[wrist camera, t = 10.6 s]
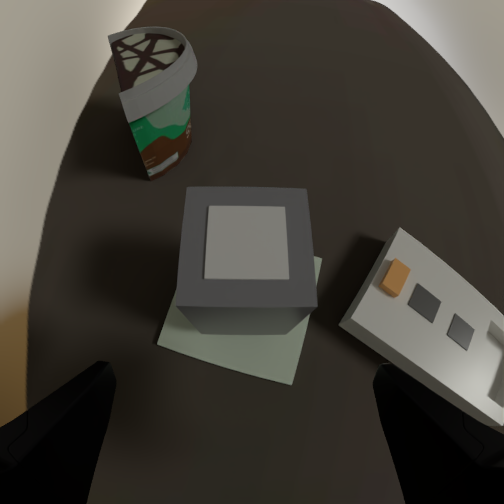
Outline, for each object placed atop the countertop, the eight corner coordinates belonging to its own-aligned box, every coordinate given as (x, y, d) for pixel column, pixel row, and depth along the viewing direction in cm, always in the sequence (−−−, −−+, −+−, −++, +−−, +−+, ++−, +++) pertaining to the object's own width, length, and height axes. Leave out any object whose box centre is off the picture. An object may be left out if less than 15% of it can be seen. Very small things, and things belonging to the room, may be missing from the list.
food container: (225, 168, 24) (221, 67, 15) (155, 194, 23) (119, 98, 14) (183, 92, 28) (173, 14, 19) (129, 111, 27) (107, 34, 18)
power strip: (511, 347, 18) (533, 341, 16) (483, 425, 16) (507, 426, 13) (386, 241, 22) (403, 223, 19) (338, 325, 19) (354, 316, 17)
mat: (290, 384, 18) (291, 385, 17) (158, 344, 18) (156, 344, 18) (320, 260, 21) (321, 258, 21) (201, 227, 22) (201, 225, 22)
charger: (282, 337, 19) (318, 305, 10) (204, 337, 18) (174, 305, 10) (280, 264, 21) (306, 187, 12) (207, 264, 20) (186, 185, 12)
